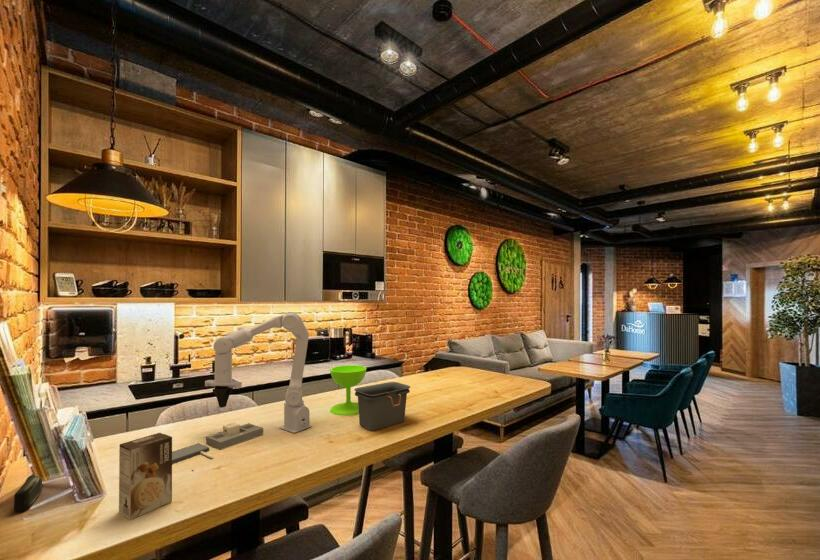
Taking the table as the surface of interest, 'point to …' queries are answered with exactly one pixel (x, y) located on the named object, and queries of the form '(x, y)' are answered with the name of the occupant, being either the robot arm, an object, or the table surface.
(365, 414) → the storage bin
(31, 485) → the black rounded bar
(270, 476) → the table surface
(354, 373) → the wineglass
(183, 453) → the grey flat pronged bracket
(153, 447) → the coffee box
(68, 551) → the table surface
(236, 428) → the beige cube
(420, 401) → the table surface
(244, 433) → the grey compartment tray
